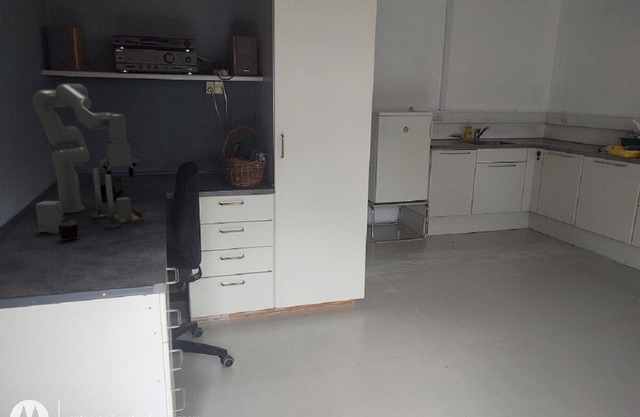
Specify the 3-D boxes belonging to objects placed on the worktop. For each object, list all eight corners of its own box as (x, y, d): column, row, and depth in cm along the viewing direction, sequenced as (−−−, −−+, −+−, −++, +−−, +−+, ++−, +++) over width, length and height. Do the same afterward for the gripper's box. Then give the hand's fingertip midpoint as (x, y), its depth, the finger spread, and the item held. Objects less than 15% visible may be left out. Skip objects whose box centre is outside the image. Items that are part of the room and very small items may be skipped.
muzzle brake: (98, 202, 263) (96, 183, 260) (106, 191, 289) (104, 174, 286) (117, 201, 265) (115, 182, 263) (123, 190, 291) (121, 173, 289)
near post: (106, 229, 213) (101, 176, 207) (102, 226, 218) (97, 174, 213) (123, 227, 217) (118, 175, 212) (118, 223, 223) (113, 172, 217)
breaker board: (121, 223, 224) (120, 215, 223) (113, 217, 233) (112, 209, 232) (142, 219, 230) (142, 211, 229) (134, 214, 239) (133, 206, 238)
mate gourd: (81, 239, 200) (77, 204, 196) (61, 243, 195) (56, 207, 191) (75, 235, 205) (71, 201, 201) (55, 239, 200) (50, 204, 196)
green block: (121, 218, 227) (119, 200, 225) (117, 216, 231) (116, 198, 229) (131, 217, 230) (130, 198, 228) (128, 215, 234) (126, 197, 232)
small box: (65, 229, 213) (61, 200, 210) (57, 233, 207) (53, 204, 204) (47, 229, 213) (43, 200, 210) (38, 233, 207) (34, 204, 204)
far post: (94, 220, 228) (89, 170, 222) (90, 216, 234) (85, 167, 228) (110, 217, 233) (105, 168, 227) (105, 214, 238) (101, 166, 232)
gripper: (100, 143, 213) (103, 180, 218) (139, 141, 224) (141, 177, 228) (95, 141, 219) (98, 178, 223) (134, 139, 230) (136, 174, 234)
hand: (120, 177), depth 226 cm, fingers open, 9 cm apart
